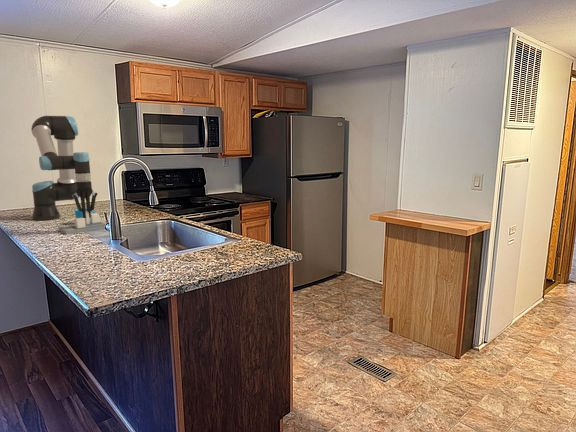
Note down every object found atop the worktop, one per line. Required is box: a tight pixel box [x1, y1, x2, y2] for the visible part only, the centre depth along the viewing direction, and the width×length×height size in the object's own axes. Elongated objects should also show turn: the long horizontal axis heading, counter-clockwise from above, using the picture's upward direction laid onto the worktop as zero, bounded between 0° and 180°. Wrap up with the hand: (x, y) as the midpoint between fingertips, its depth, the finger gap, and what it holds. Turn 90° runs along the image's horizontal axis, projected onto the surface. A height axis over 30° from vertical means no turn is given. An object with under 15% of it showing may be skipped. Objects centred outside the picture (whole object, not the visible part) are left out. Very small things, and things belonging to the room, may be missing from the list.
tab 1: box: [74, 217, 86, 228], centre depth 222 cm, size 4×4×5 cm
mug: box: [74, 208, 97, 221], centre depth 245 cm, size 12×8×8 cm
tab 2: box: [90, 212, 101, 223], centre depth 235 cm, size 4×4×5 cm
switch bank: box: [57, 220, 107, 236], centre depth 229 cm, size 14×26×2 cm, turn 134°
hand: (87, 223), depth 225 cm, fingers closed
